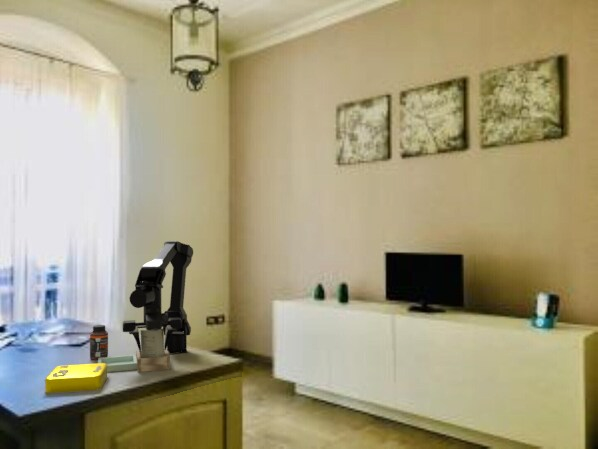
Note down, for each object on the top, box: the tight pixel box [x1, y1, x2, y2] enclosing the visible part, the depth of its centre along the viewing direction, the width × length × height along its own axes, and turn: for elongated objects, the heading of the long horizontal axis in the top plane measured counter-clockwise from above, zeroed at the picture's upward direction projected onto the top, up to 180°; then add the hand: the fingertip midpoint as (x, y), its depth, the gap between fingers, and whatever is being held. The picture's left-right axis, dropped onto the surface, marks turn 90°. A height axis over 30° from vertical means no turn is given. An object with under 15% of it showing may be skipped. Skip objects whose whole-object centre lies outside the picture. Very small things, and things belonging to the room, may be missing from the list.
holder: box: [135, 348, 171, 373], centre depth 175 cm, size 10×12×4 cm
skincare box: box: [140, 328, 165, 358], centre depth 175 cm, size 6×4×12 cm
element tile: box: [44, 362, 108, 394], centre depth 156 cm, size 15×15×5 cm
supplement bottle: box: [89, 324, 109, 361], centre depth 186 cm, size 6×6×11 cm
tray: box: [97, 354, 137, 373], centre depth 175 cm, size 12×12×2 cm
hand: (152, 350), depth 175 cm, fingers open, 8 cm apart
